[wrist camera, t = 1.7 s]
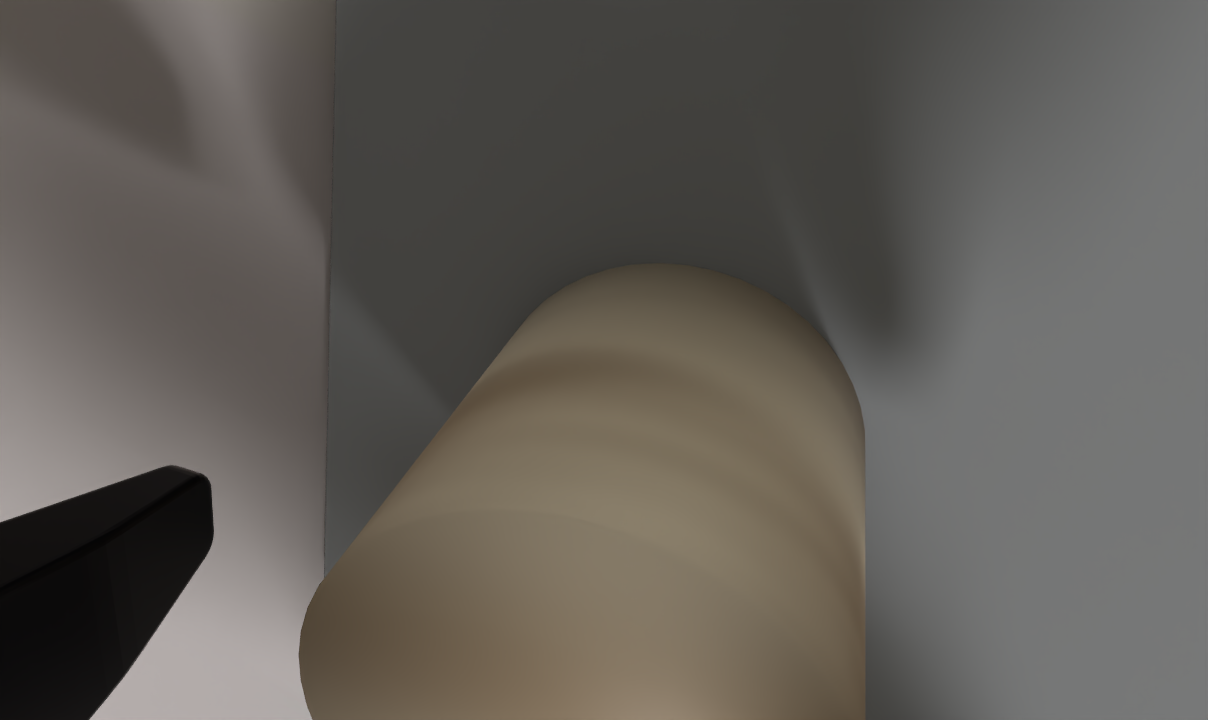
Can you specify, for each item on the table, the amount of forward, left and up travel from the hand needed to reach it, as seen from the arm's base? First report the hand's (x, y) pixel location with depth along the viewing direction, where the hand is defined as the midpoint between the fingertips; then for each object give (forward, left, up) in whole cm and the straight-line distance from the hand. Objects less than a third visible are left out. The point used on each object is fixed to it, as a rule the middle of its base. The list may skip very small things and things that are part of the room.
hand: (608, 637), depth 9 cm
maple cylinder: (0, 0, -4) cm, 4 cm away
